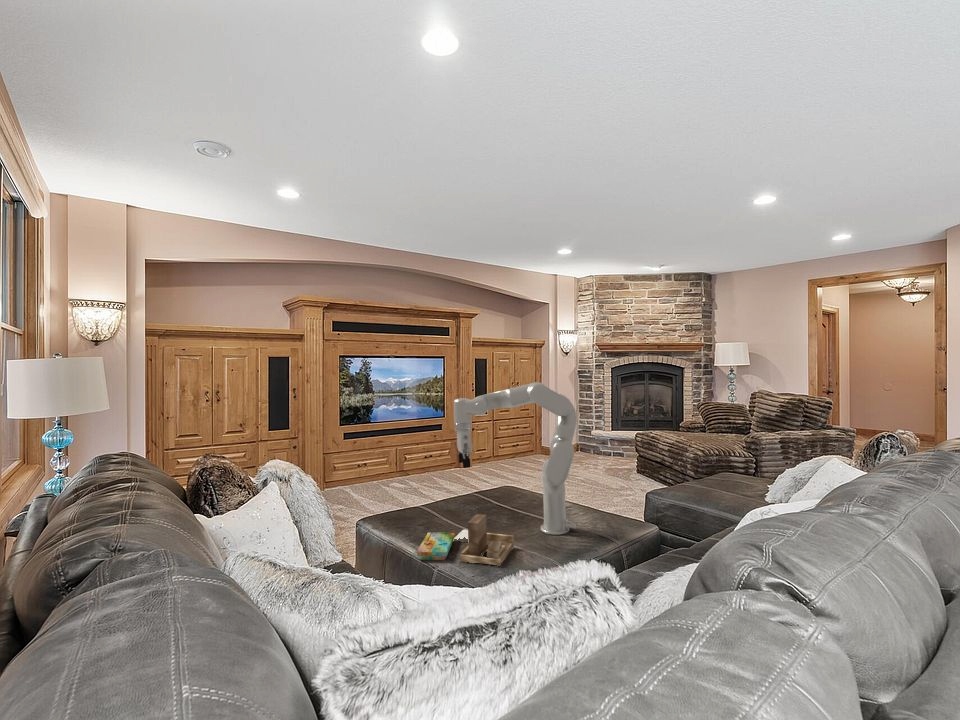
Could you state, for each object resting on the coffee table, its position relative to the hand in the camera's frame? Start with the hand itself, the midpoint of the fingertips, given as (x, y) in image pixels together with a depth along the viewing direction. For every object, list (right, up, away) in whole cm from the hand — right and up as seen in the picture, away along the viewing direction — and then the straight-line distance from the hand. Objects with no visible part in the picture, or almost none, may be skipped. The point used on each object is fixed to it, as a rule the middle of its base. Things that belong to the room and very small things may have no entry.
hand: (464, 464), depth 227 cm
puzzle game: (-11, -31, -19) cm, 38 cm away
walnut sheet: (+6, -31, -23) cm, 39 cm away
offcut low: (+13, -31, -25) cm, 42 cm away
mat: (+2, -30, -5) cm, 30 cm away
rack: (+10, -30, -24) cm, 40 cm away
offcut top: (+13, -28, -26) cm, 40 cm away
